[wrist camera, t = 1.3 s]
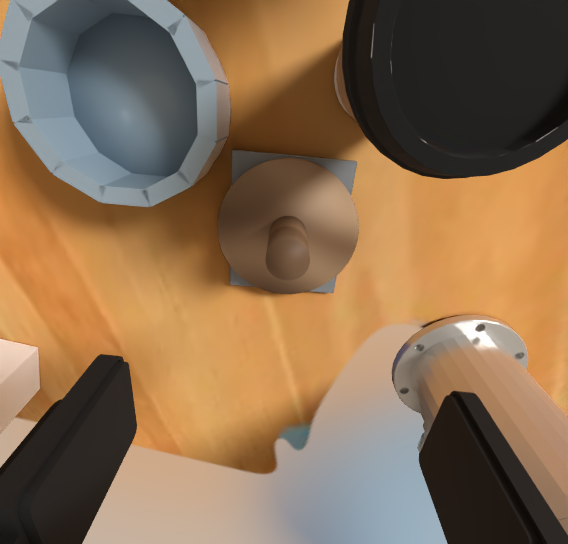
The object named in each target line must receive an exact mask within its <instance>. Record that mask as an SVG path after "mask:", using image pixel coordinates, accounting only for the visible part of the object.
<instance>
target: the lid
mask: <svg viewBox="0 0 568 544" xmlns="http://www.w3.org/2000/svg"><path fill="white" fill-rule="evenodd" d="M217 232H218V239H219V244H220V247H221V250H222V252H223V254H224V256H225V258H226V260H227V262H228V263H229V265H230V266H231V267H232V268H233V270H234V271H235V272H236V273H237V274H238V275H239V276H240V277H242V278H243V279H244V280H246V281H247V282H248V283H250V284H252V285H254V286H256V287H257V288H260V289H263V290H265V291H269V292H273V293H280V294H296V293H303V292H307V291H310V290H313V289H316V288H318V287H320V286H323V285H324V284H326V283H327V282H329V281H331V280H332V279H333V278H334V277H336V276H337V275H338V274H339V273H340V272H341V271H342V270H343V268H344V267H345V266H346V265H347V263H348V262H349V260H350V258H351V257H352V255H353V252H354V250H355V247H356V244H357V240H358V233H359V220H358V214H357V210H356V206H355V203H354V201H353V199H352V197H351V195H350V193H349V192H348V190H347V189H346V187H345V186H344V185H343V183H342V182H341V181H340V180H339V179H338V178H337V177H336V176H335V175H334V174H333V173H332V172H330V171H329V170H327V169H326V168H324V167H323V166H321V165H319V164H316V163H314V162H311V161H308V160H305V159H299V158H277V159H272V160H268V161H265V162H262V163H260V164H257V165H255V166H254V167H252V168H250V169H249V170H247V171H246V172H245V173H243V174H242V175H241V176H240V177H239V178H238V179H237V180H236V181H235V182H234V184H233V185H232V186H231V188H230V189H229V191H228V192H227V194H226V195H225V197H224V199H223V201H222V204H221V207H220V210H219V215H218V222H217Z"/></svg>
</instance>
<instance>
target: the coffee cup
mask: <svg viewBox="0 0 568 544" xmlns="http://www.w3.org/2000/svg"><path fill="white" fill-rule="evenodd" d="M334 85H335V91H336V94H337V97H338V100H339V102H340V104H341V105H342V107H343V109H344V110H345V111H346V112H347V113H348V114H349V115H350V116H351V117H352V118H353V119H354V120H355V121H356V122H357V123H358V124H359V126H360V127H361V129H362V131H363V133H364V134H365V136H366V137H367V138H368V139H369V141H370V142H371V143H372V144H373V145H374V146H375V147H376V148H377V149H378V150H379V151H380V153H382V154H383V155H385V156H386V157H388V158H389V159H390V160H392V161H393V162H395V163H396V164H398V165H399V166H400V167H402V168H404V169H406V170H409V171H411V172H414V173H417V174H419V175H422V176H427V177H434V178H441V179H452V178H467V177H474V176H488V175H493V174H497V173H500V172H504V171H508V170H512V169H515V168H517V167H519V166H522V165H524V164H526V163H528V162H531V161H533V160H535V159H537V158H539V157H541V156H543V155H544V154H546V153H547V152H549V151H550V150H552V149H554V148H555V147H557V146H558V145H560V144H561V143H563V142H565V141H566V140H567V139H568V0H350V1H349V4H348V10H347V15H346V20H345V26H344V31H343V41H342V45H341V48H340V52H339V55H338V58H337V61H336V66H335V71H334Z"/></svg>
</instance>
